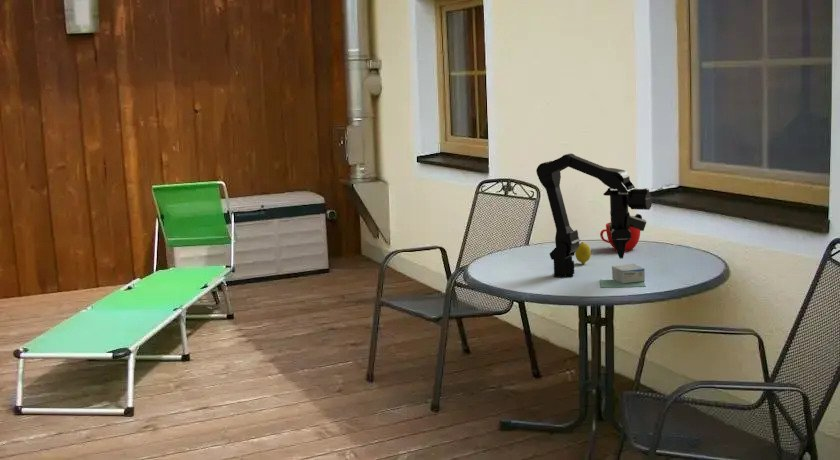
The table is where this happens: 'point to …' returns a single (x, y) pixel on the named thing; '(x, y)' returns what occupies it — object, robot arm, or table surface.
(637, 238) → the ceramic cup
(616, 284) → the mat
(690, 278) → the table surface
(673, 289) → the table surface
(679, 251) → the table surface
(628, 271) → the medicine box
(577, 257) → the lemon
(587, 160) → the robot arm
